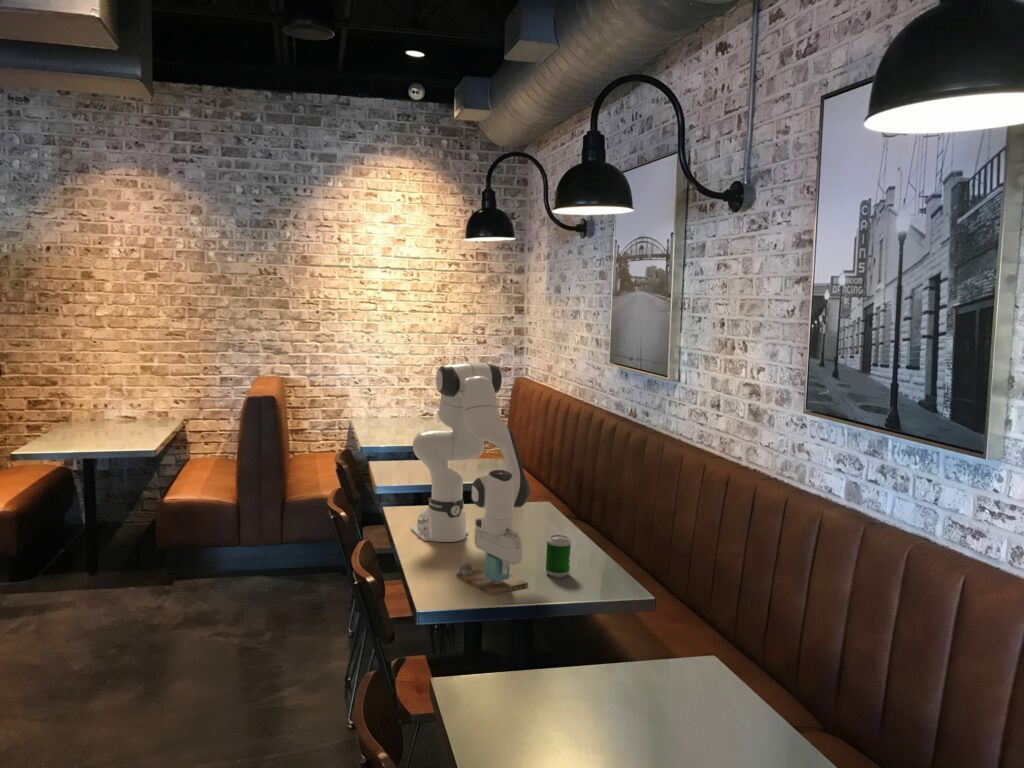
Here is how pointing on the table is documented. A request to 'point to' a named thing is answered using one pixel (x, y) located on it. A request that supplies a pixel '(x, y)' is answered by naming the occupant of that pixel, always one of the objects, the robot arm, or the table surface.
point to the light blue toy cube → (494, 568)
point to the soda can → (558, 555)
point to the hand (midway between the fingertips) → (497, 570)
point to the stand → (488, 580)
